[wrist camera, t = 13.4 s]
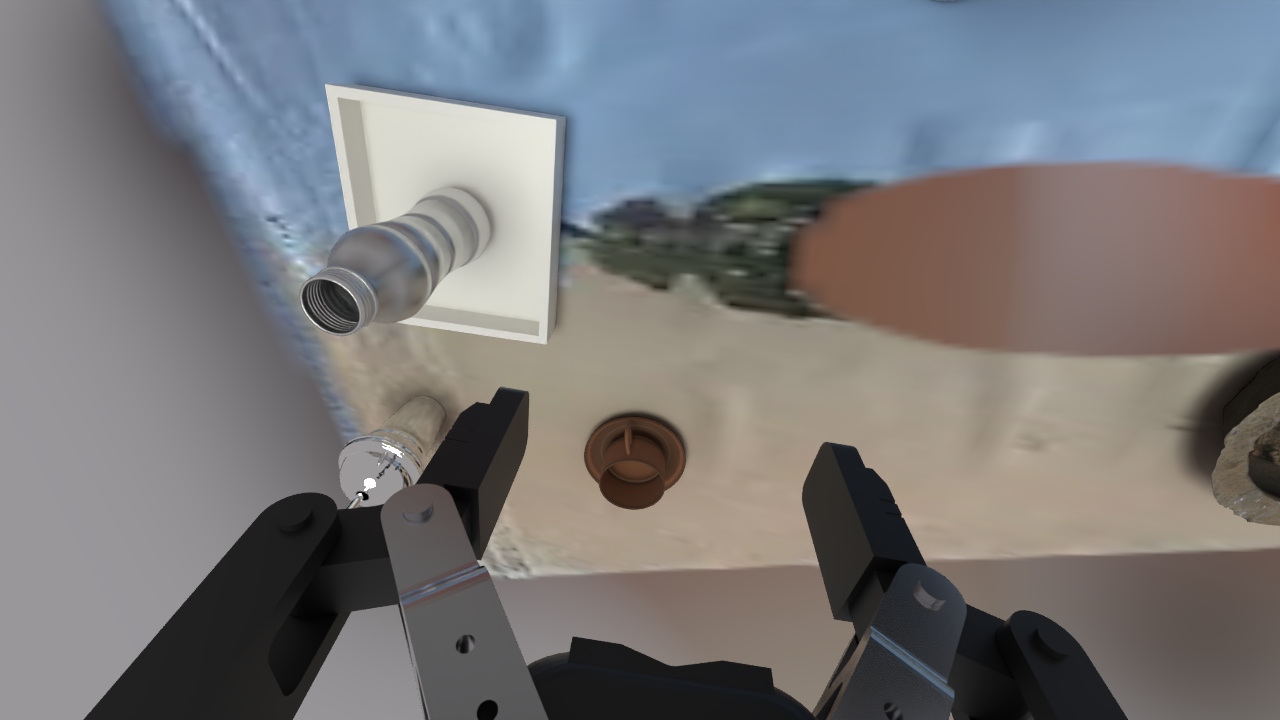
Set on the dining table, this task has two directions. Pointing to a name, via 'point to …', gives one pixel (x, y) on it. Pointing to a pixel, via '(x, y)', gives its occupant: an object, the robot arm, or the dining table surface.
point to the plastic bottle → (395, 263)
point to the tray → (477, 164)
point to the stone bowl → (1252, 451)
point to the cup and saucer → (634, 461)
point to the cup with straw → (390, 453)
